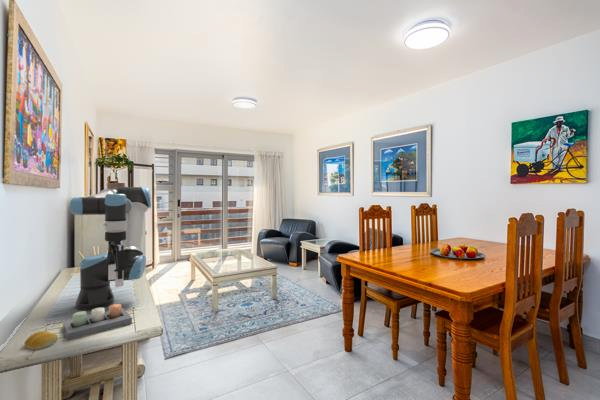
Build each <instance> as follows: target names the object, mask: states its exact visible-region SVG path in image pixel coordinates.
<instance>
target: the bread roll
mask: <svg viewBox="0 0 600 400" xmlns="http://www.w3.org/2000/svg"><path fill="white" fill-rule="evenodd" d="M57 341H58V335H57V334H56V333H54V332H53V333H52V332H50V331H46V330H42V331H37V332H34V333H33V334H31V335H30V336H29V337H27V338H26V340H25V341H24V346H25V347H26V348H27V349H30V350H33V351H35V350H41V349H45V348H48V347H51V346H53V345H54V344H55V343H56V342H57Z"/></svg>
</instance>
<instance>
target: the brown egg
mask: <svg viewBox="0 0 600 400" xmlns="http://www.w3.org/2000/svg"><path fill="white" fill-rule="evenodd" d="M121 308H122V304H121V303H115V304H113V303H112V304H110V305H108V311H109V317H111V318H114V317H118V316H120V315H121Z"/></svg>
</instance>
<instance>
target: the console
mask: <svg viewBox="0 0 600 400" xmlns="http://www.w3.org/2000/svg"><path fill="white" fill-rule="evenodd" d="M132 324H133V318H132V316H131V315H130V314H129V313H128V311H126V310H125V308H124V307H121V315H120V316H118V317H114V318H111V317H109V310H108V311H105V319H104V320H101V321H98V322H92V321H91V314H89V315H88V314H87V323H86V324H84V325H81V326H73V318H72V319H66V320H63V321H62V328H63V331H64V335H65V336H66V339H67V341H70V340H74V339H78V338H81V337H85V336H90V335H94V334H96V333H97V334H98V333H101V332H104V331H108V330H113V329H116V328H120V327H123V326H127V325H132Z"/></svg>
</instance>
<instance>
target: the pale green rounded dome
mask: <svg viewBox="0 0 600 400" xmlns="http://www.w3.org/2000/svg"><path fill="white" fill-rule="evenodd" d="M87 316H88V313H87V311H86V310H80V311H78V312H77V311H76V312H75V313H73V314H72V319H73V326H81V325H84V324H86V323H87Z"/></svg>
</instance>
